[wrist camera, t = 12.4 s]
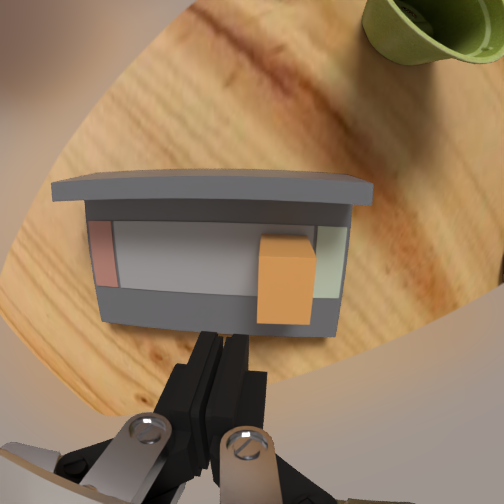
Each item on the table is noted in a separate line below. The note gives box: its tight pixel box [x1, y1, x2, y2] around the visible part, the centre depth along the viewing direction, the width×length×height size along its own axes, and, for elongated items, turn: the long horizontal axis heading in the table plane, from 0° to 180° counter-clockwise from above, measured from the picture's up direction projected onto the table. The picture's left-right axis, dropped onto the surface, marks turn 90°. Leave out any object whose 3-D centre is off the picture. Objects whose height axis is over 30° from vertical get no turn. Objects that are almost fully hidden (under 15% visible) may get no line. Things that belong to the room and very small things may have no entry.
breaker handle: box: [257, 234, 317, 325], centre depth 19 cm, size 3×4×4 cm
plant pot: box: [362, 0, 504, 65], centre depth 13 cm, size 9×9×9 cm
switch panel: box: [51, 169, 374, 337], centre depth 21 cm, size 19×12×6 cm, turn 89°
